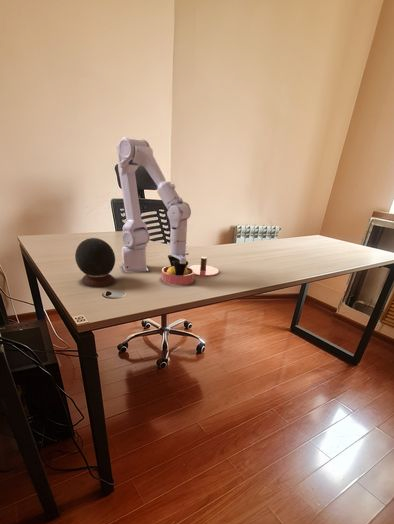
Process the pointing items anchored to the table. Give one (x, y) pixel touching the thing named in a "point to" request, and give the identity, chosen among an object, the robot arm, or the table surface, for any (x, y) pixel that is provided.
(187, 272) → the yellow rounded oblong piece
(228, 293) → the table surface
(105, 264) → the dark ball on stand
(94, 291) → the table surface
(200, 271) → the lid
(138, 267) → the robot arm
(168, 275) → the pot
